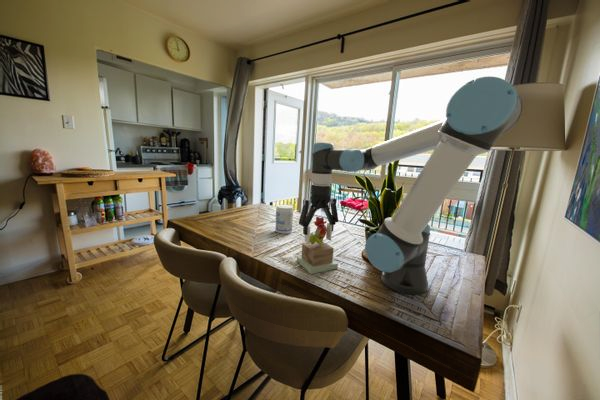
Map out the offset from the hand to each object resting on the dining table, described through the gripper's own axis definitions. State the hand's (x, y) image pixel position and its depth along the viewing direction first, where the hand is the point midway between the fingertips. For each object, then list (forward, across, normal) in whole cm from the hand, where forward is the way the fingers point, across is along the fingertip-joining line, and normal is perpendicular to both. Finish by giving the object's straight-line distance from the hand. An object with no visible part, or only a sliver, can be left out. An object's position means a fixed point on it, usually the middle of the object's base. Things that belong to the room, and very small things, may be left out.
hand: (318, 240), depth 96 cm
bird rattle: (+1, 0, 0) cm, 1 cm away
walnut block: (+8, 0, 0) cm, 8 cm away
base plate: (+10, 0, 0) cm, 10 cm away
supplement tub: (+10, -3, -43) cm, 44 cm away
